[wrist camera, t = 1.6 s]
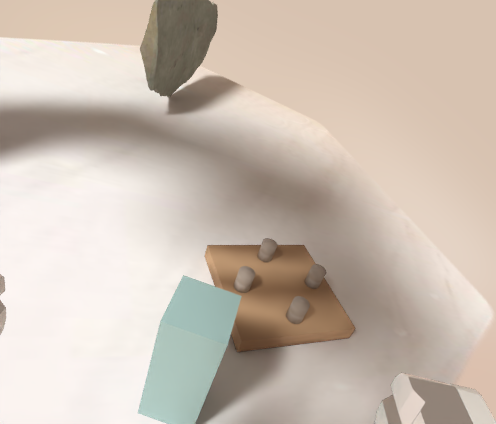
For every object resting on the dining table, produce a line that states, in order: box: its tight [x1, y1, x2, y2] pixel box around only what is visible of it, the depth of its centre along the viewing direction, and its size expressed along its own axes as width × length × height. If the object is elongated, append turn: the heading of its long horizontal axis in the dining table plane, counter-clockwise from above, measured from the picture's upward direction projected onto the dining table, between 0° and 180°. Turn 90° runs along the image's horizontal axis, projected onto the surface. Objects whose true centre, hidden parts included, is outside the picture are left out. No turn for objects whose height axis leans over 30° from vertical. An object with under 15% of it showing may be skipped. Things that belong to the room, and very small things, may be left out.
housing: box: [205, 238, 355, 352], centre depth 40 cm, size 12×12×4 cm
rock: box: [140, 0, 218, 98], centre depth 72 cm, size 27×6×20 cm, turn 168°
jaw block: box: [138, 275, 242, 424], centre depth 27 cm, size 4×4×10 cm
